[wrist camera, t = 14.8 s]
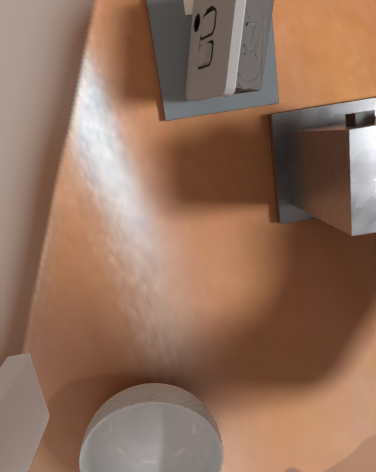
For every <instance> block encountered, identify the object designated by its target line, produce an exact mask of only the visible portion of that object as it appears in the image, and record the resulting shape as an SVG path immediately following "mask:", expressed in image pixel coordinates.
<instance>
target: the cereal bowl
mask: <svg viewBox="0 0 376 472" xmlns="http://www.w3.org/2000/svg"><path fill="white" fill-rule="evenodd" d="M222 464H223V446H222V440H221V436H220V433H219V428H218V426H217V423H216V421H215V420H214V417H213V415H212V414H211V412H210V410H209V409H208V408H207V406H206V405H205V404H204V403H203V402H202V401H200V400H199V399H198V397H196V396H194V395H193V394H192V393H190V392H188V391H186V390H184V389H182V388H180V387H177V386H174V385H169V384H163V383H146V384H140V385H136V386H132V387H130V388H127V389H125V390H123V391H121V392H119V393H117V394H115V395H114V396H113V397H111V398H110V399H108V401H106V402H105V403H104V404H103V405H102V406H101V407H100V408H99V410H98V411H97V412H96V413H95V415H94V416H93V417H92V420H91V422H90V423H89V425H88V427H87V429H86V432H85V435H84V438H83V441H82V445H81V448H80V454H79V469H80V472H221V469H222Z"/></svg>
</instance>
